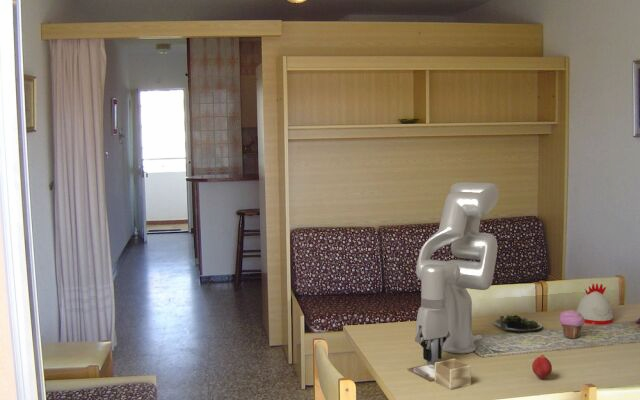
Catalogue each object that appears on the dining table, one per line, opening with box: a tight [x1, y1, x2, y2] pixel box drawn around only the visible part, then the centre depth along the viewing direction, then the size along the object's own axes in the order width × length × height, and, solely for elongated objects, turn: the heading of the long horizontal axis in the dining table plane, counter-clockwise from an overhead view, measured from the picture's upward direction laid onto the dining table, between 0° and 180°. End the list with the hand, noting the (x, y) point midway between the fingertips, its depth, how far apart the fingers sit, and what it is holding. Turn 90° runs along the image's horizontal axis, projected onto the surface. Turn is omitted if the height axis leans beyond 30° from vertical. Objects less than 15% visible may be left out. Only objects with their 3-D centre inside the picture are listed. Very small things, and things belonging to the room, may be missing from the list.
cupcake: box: [558, 310, 585, 339], centre depth 247 cm, size 9×9×10 cm
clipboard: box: [407, 359, 446, 383], centre depth 213 cm, size 16×12×1 cm
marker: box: [426, 338, 439, 367], centre depth 215 cm, size 4×4×10 cm
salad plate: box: [493, 314, 544, 334], centre depth 262 cm, size 19×18×5 cm
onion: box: [531, 353, 553, 380], centre depth 205 cm, size 6×6×8 cm
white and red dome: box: [576, 283, 614, 326], centre depth 269 cm, size 14×14×15 cm
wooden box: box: [434, 358, 472, 391], centre depth 203 cm, size 8×8×6 cm
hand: (432, 358), depth 215 cm, fingers closed on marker, 3 cm apart
